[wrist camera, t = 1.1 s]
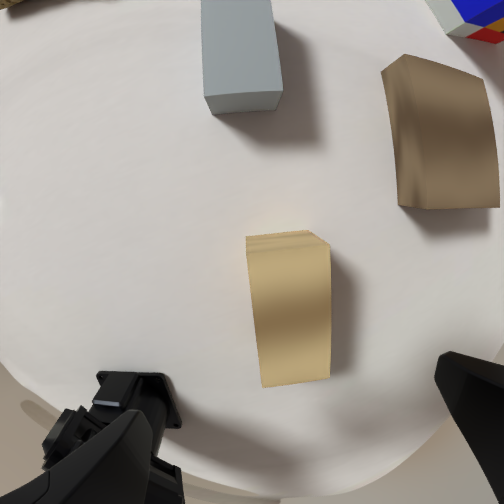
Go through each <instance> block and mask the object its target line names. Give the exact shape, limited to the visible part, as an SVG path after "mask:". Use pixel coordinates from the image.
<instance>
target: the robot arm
mask: <svg viewBox="0 0 504 504" xmlns="http://www.w3.org/2000/svg"><path fill="white" fill-rule="evenodd" d="M101 376H102V377H101ZM96 377H97V380H98V382H99V384H100V386H101V387H100V389H99V390H98V392H97V394H96V395H95V397H94V398H93V400H92V403H93V405H92V407H91V409H90V410H89V412H87V409H85V408H84V407H83V406H82V405H81V406H80V407H79V408H78V409H77V411H75V410H70V409H65V410H64V412H63V413H62V414H61V416H60V417H59V419H58V420H57V422H56V423H55V425H54V426H53V428H52V429H51V431H50V432H49V434H48V435H47V437H46V439H45V440H44V441H43V443H42V447H43V450H44V453H45V456H44V458H43V459H44V460H45V461H44V463H43V466H42V469H43V470H44V471H46V472H44V473H43V474H41V475H40V476H38V477H37V478H35V479H34V480H32V481H31V482H29V483H27V484H25V485H23V486H22V487H20V488H18V489H16V490H14V491H12V492H10V493H8V494H6V495H4V496H1V497H0V504H185V499H184V492H183V484H182V475H181V468H179V467H177V466H175V465H171V464H169V463H167V462H165V461H163V460H162V459H160V458H158V457H157V455H158V451H159V448H160V444H161V441H162V437H163V434H164V430H165V428H172V429H179V428H181V426H182V421H181V419H180V417H179V414H178V412H177V409H176V407H175V404H174V401H173V399H172V396H171V393H170V391H169V388H168V385H167V382H166V380H165V377H164V375H162V374H161V373H140V372H118V371H99V372H98V373H97V375H96ZM157 378H159V379H160V380H158V379H157ZM434 378H435V382H436V385H437V387H438V389H439V391H440V393H441V395H442V397H443V399H444V401H445V403H446V405H447V407H448V409H449V411H450V413H451V415H452V417H453V419H454V421H455V422H456V424H457V426H458V427H459V429H460V431H461V432H462V434H463V436H464V437H465V439H466V441H467V443H468V444H469V446H470V448H471V450H472V452H473V453H474V455H475V457H476V459H477V460H478V462H479V464H480V466H481V468H482V470H483V472H484V474H485V476H486V477H487V480H488V482H489V484H490V486H491V488H492V489H493V492H494V494H495V496H496V498H497V500H498V501H499V502H498V503H499V504H504V366H503V365H500V364H496V363H492V362H488V361H485V360H481V359H477V358H474V357H470V356H467V355H463V354H459V353H456V352H452V351H449V352H446V353H444V354H442V355H440V356H439V358H438V362H437V366H436V371H435V375H434Z"/></svg>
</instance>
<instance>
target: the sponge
mask: <svg viewBox="0 0 504 504" xmlns="http://www.w3.org/2000/svg"><path fill="white" fill-rule="evenodd" d="M21 1H23V0H0V10H1V9H4V8H8V7H11V6H13V5H15V4H16V3H19V2H21Z"/></svg>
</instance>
